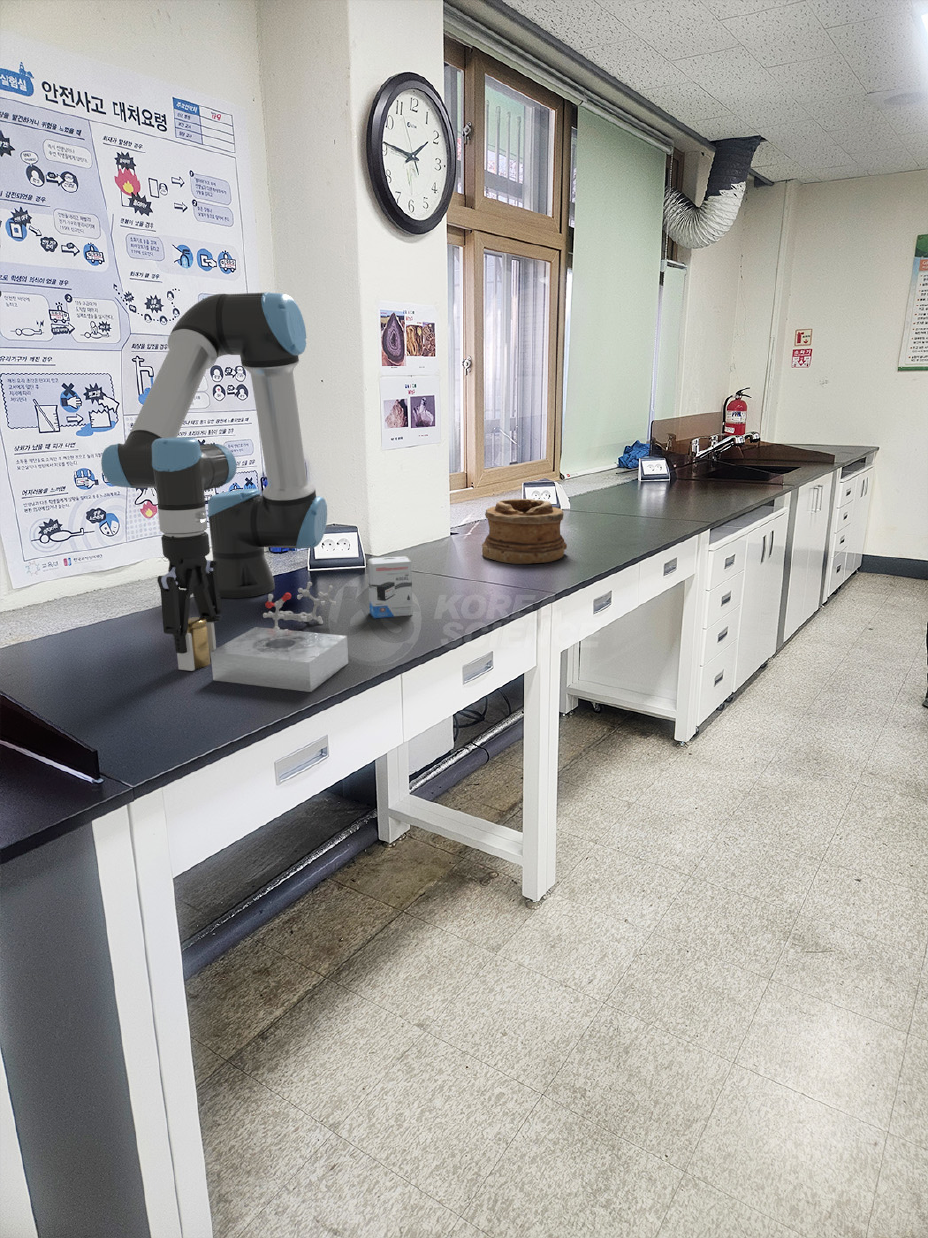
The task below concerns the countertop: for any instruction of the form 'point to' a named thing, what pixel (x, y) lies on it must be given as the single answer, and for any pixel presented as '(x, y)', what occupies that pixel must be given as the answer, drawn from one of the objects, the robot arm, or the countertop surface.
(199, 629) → the cylinder
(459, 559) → the countertop surface
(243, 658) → the plate
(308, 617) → the molecular model
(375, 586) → the ink box
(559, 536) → the container
